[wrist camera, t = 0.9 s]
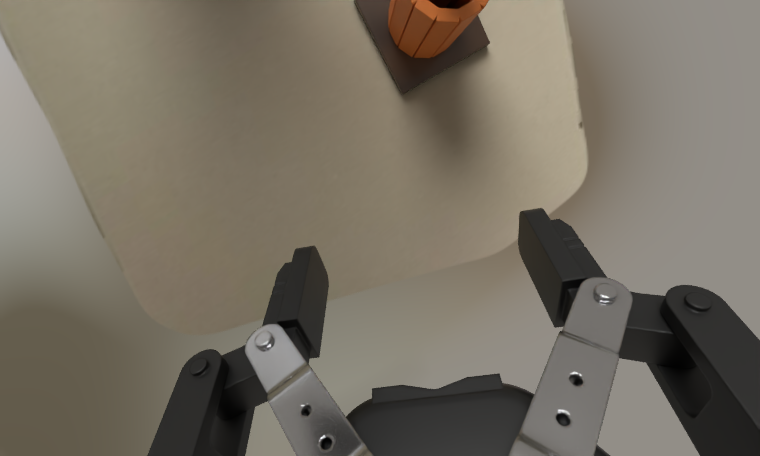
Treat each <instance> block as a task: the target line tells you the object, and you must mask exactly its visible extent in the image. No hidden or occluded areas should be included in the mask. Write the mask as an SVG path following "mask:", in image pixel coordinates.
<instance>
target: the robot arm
mask: <svg viewBox="0 0 760 456" xmlns="http://www.w3.org/2000/svg"><path fill="white" fill-rule="evenodd" d="M518 245H519V251H520V255H521V257H522V260H523V262H524V264H525V266H526V268H527V270H528V272H529V275H530V277H531V279H532V281H533V283H534V285H535V287H536V289H537V291H538V293H539V295H540V298H541V300H542V302H543V304H544V306H545V308H546V310H547V312H548V314H549V317H550V319H551V321H552V323H553V325H554V327H563V326H564V327H563V330H562V332H561V331H560V332H559V334H558V337H557V339H556V341H555V344H554V346H553V349H552V351H551V354H550V356H549V359H548V362H547V364H546V367H545V369H544V372H543V374H542V377H541V379H540V382H539V384H538V387H537V389H536V392H535V394H533V393H531V392H529V391H527V390H525V389H522V388H520V387H517V386H514V385H510V384H504V383H502V381H501V378H500V374H492V375H483V376H474V377H467V378H464V379H462V380H459V381H457V382H454V383H451V384H449V385H447V386H444V387H441V388H439V389H427V388H420V387H413V386H406V385H398V386H390V387H381V388H373V389H372V399H369V400H367V401H365V402H364V403H362V404H360V405H359V406H357V407H356V408H355V409H354V410H352V411H351V413H349V414H348V415H347V416H346V417H345V415H344V414H343V412H342V411H341V410H340V408H339V407H338V406H337V404H336V403H335V401H334V400H333V398H332V397H331V396H330V394H329V392H328V391H327V390H326V388H325V387H324V386H323V384H322V382H321V381H320V380H319V378H318V377H317V376H316V374H315V373H314V371H313V370H312V368H311V367H310V366H309V359H310V358H317V357H319V355H320V347H321V340H322V332H323V324H324V317H325V310H326V302H327V295H328V287H329V281H328V275H327V272H326V269H325V267H324V264H323V262H322V260H321V257H320V255H319V253H318V250H317V248H316V247H315V246H309V247H303V248H297V249H295V252H294V255H293V259H292V262H290V263H285V264H284V266H283V267H282V268H281V270H280V271H279V272H278V274H277V277H276V281H275V286H274V288H273V291H272V295H271V298H270V301H269V305H268V308H267V311H266V315H265V318H264V322H263V325H262V327H260V328H258V329H257V330H255V331H254V332H253V333H252V334H251V336H250V337H249V338H248V340H247V342H246V345H244V346H242V347H241V348H238V349H236V350H234V351H231V352H229V353H227V354H224V355H222V356H221V355H220V353H219V352H218V351H216V350H212V349H209V350H204V351H201V352H199V353H198V354H196V355H194V356H193V357H192V358H191V359H189V360H188V362H187V363H186V364H185V365H184V367H183V368H182V370H181V372H180V375H179V378H178V380H177V382H176V385H175V387H174V390H173V392H172V395H171V398H170V400H169V403H168V405H167V408H166V410H165V413H164V415H163V418H162V420H161V423H160V425H159V428H158V430H157V433H156V435H155V438H154V440H153V443H152V446H151V448H150V451H149V453H148V456H245V454H246V449H247V444H248V439H249V434H250V429H251V424H252V419H253V414H254V409H255V407H256V406H258V405H260V404H262V403H264V402H267V401H268V402H269V404H270V406H271V408H272V410H273V412H274V414H275V415H276V417H277V419H278V421H279V423H280V425H281V427H282V429H283V431H284V433H285V435H286V437H287V438H288V440H289V442H290V444H291V446H292V448H293V450H294V452H295V454H296V456H610V455H609V454H607V453H606V452H605V451H604V450H603V449H601V448H600V447H599V446H598V445H597V442H598V438H599V434H600V430H601V426H602V423H603V418H604V415H605V411H606V407H607V403H608V399H609V396H610V391H611V388H612V384H613V380H614V376H615V372H616V369H617V365H618V361H619V358H622V359H628V360H634V361H640V362H646V363H647V365H648V366H649V368H650V370H651V372H652V373H653V375H654V377H655V379H656V380H657V382H658V384H659V385H660V387H661V389H662V391H663V392H664V394H665V396H666V398H667V399H668V401H669V403H670V405H671V406H672V408H673V410H674V411H675V413H676V415H677V416H678V418H679V420H680V422H681V424H682V425H683V427H684V429H685V430H686V432H687V434H688V436H689V437H690V439H691V441H692V443H693V444H694V446H695V448H696V449H697V451H698V453H699V455H700V456H760V340H759V339H758V338H757V337H756V336H755V335H754V334H753V332H752V331H751V330H750V329H749V328H748V327H747V326H746V325H745V323H744V322H743V321H742V320H741V319H740V318H739V317H738V316H737V315H736V313H735V312H734V311H733V310H732V309H731V308H730V307H729V306H728V304H727V303H726V302H725V301H724V300H723V299H722V298H720V297H719V296H718V295H716V294H715V293H713V292H711V291H709V290H706V289H703V288H701V287H697V286H692V285H680V286H675V287H673V288H671V289H670V290H668V292H667V293H666V296H660V295H650V294H640V293H635V292H630V291H629V290H628V289H627V288H626V287H625V286H624V285H623V284H621V283H619V282H618V281H615V280H613V279H610V278H607V277H606V275H605V274H604V273H603V271H602V270H601V268H600V267H599V266H598V264H597V263H596V261H595V260H594V258H593V257H592V256H591V254H590V253H589V251H588V250H587V248H586V247H584V244H583V243H582V241H581V240H580V239H579V238H578V236H577V234H576V233H575V231H574V230H573V229H572V227H571V226H569V225H568V224H566V223H565V222H563V221H562V220H560V219H556V220H550V218H549V217H548V215H547V214H546V212H545V211H544V209H542V208H538V209H532V210H526V211H521V212H520V216H519V235H518Z"/></svg>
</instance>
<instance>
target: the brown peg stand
mask: <svg viewBox="0 0 760 456" xmlns="http://www.w3.org/2000/svg"><path fill="white" fill-rule="evenodd" d="M390 1H391V0H354V2H355V4H356V6H357V8H358V10H359V12H360V14H361V16H362V17H363V19H364V21H365V23H366V25H367V27H368V29H369V31H370V33H371V35H372V37H373V39H374V41H375V43H376V45H377V47H378V49H379V51H380V53H381V55H382V57H383V59H384V61H385V63H386V65H387V67H388V69H389V71H390V73H391V75H392V77H393V79H394V80H395V82H396V84H397V86H398V88H399V90H400V92H401V94H404V93H406V92H408V91H409V90H411V89H413V88H414V87H416V86H418V85H420V84H421V83H423V82H425V81H427V80H428V79H430V78H432V77H433V76H435V75H437V74H439V73H440V72H442V71H444V70H446V69H447V68H449V67H451V66H452V65H454V64H456V63H458V62H459V61H461V60H463V59H465V58H466V57H468V56H470V55H471V54H473V53H475V52H477V51H478V50H480V49H482V48H483V47H485V46H487V45H488V44H489V43H490V42H489V40H488V38H487V35H486V33H485V31H484V28H483V26H482V24H481V21H480V19H479V17H478V15H477V16H476V17H475V18H474V19H473V21H472V22H471V23H470V24H469V25H468V26H467V27H466V28H465V29H464V31H463V32H462V33H461V34H460V35H459V36H458V37H457V38H456V39H455V41H454V42H453V43H452V44H451V45H450V46H449V47H448V48H447V49H446V50H445V51H443V52H441V53H440V54H438V55H436V56H434V57H431V58H414V55H413V57H411V56H409V55H408V54H406V53H405V52H403V51H402V50H400V49H399V48H398V47H399V45H398V46H397V45H396V44H395V42H394V40H393V38H392V36H391V34H390V31H389V29H390V28H388V16H389V6H390ZM428 1H430V2H431V3H433V4H434V5H435V6H437V7H438V8H447V6H448V4H449V3H450V1H451V0H428Z"/></svg>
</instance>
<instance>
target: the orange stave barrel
mask: <svg viewBox="0 0 760 456" xmlns="http://www.w3.org/2000/svg"><path fill="white" fill-rule="evenodd" d="M488 1H489V0H451V1H450V3H449V4H448V6H447V8H438V7H437V6H435V5H434V4H433V3H431V2H430V1H428V0H391V1H390V6H389V16H388V28H390V29H389V31H390V34H391V36H392V38H393V40H394V42H395V44H396V45H397V46H398V45H399V47H398V48H399V49H400V50H402V51H403V52H405V53H406V54H408V55H409V56H411V57H413V55H414V58H431V57H434V56H436V55H438V54H440V53H441V52H443V51H445V50H446V49H447V48H448V47H449V46H450V45H451V44H452V43H453V42H454V41H455V39H456V38H457V37H458V36H459V35H460V34H461V33H462V32H463V31H464V29H465V28H466V27H467V26H468V25H469V24H470V23H471V22H472V21H473V19H474V18H475V17H476V16H477V15H478V14H479V13H480V12H481V11H482V9H483V8H484V7H485V6H486V4H487V2H488Z"/></svg>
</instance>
